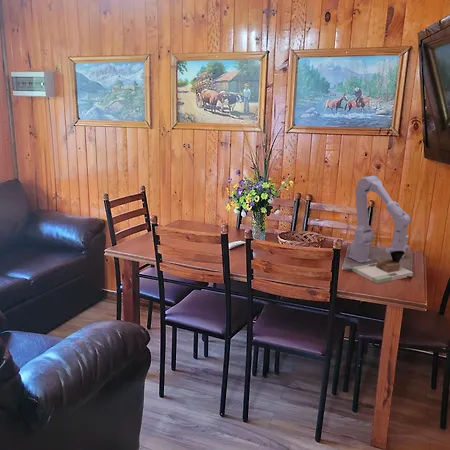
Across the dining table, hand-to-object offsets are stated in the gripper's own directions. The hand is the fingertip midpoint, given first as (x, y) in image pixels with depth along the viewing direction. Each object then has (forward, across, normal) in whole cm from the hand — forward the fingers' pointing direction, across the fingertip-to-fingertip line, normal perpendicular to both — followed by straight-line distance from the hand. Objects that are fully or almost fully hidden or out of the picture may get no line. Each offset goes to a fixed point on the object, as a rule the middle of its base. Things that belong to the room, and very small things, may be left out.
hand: (395, 264), depth 217 cm
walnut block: (+1, -5, 0) cm, 5 cm away
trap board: (+3, -8, 0) cm, 9 cm away
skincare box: (+4, +20, +14) cm, 25 cm away
